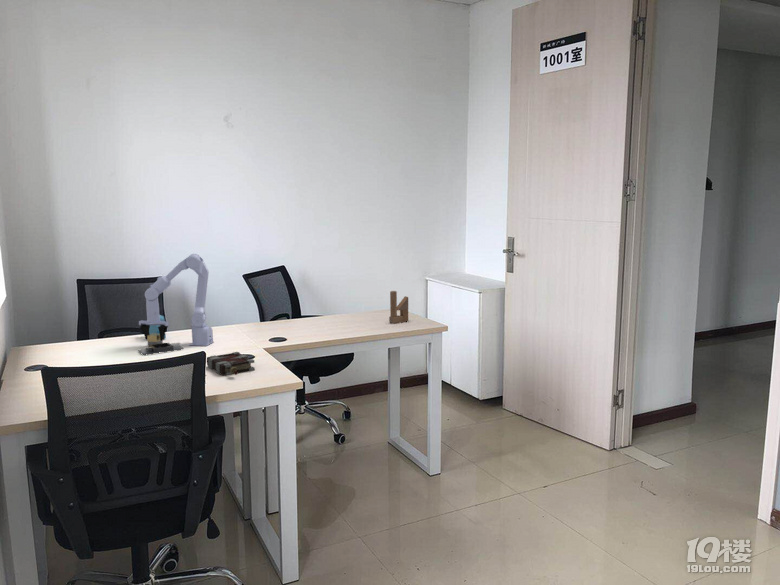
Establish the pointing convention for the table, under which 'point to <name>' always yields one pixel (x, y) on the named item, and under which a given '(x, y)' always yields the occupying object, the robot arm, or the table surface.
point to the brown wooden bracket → (398, 308)
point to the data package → (156, 327)
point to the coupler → (154, 339)
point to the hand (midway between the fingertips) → (154, 339)
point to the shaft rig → (160, 348)
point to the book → (230, 363)
